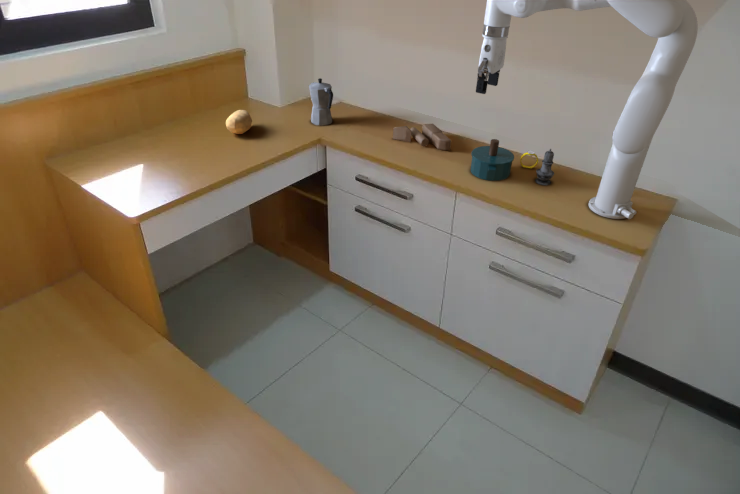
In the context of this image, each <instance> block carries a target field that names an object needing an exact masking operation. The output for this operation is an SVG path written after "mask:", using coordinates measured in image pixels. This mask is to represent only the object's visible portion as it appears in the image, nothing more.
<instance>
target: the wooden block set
mask: <svg viewBox="0 0 740 494" xmlns="http://www.w3.org/2000/svg"><path fill="white" fill-rule="evenodd" d="M412 138H414V140H415V141H417V143H419V145H420V146H421V147H426V146H428V145H429V143H430V144H433V146H435V147H436V148H437V149H438V150H442V151H450V150H451V146H452V140H451V139H450V138H449V137H448V136H447V135H446V134H444V132H443V131H442V130H441V129H440V128H439V127H437V125H436V124H434V123H425V124H422V127H421V131H420V130H418V128H416V127H414V126H412V127H411V128H410V127H408V126H407V125H403V126H394V127H393V128H392V140H395V141H402V142H407V143H411V139H412Z"/></svg>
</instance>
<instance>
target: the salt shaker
mask: <svg viewBox="0 0 740 494" xmlns="http://www.w3.org/2000/svg"><path fill="white" fill-rule="evenodd" d="M554 156H555V152H554V151H553V150H552V148H549V150H546V151H545V152H544V156H543V159H542V160H541V162H542V164H541V167H540V168H537V169H536V170H535V172H536V177H537V178H535V179H534V182H535V183H536V184H537V185H541V186H550V185H552V181H551V179H552V178H553V176H554V175H555V171H554V170H552V166H553V164H554Z"/></svg>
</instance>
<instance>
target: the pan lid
mask: <svg viewBox="0 0 740 494" xmlns="http://www.w3.org/2000/svg"><path fill="white" fill-rule="evenodd" d="M499 146H500V140H499V139H497V138H491V140H490V144H489V145H482V146H477V147H475V148H473V149H472V150H471V154H470V155H471V158H472V157H473V158H474V159H475V160H477V161H479V162H481V163H484V164H489V165H505V164H509V163H511V162H512V163H513V161H514V159H515V155H514V153H513V152H511V151H510V150H509V149H507V148H505V147H501V146H500V147H499Z"/></svg>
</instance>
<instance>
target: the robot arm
mask: <svg viewBox="0 0 740 494" xmlns="http://www.w3.org/2000/svg"><path fill="white" fill-rule="evenodd" d="M609 7H610V8H611V7H612V8H613V10H615V11H616V12H617V13H618V14H620V15H621V16H622V17H623V18H625V19H626V20H627V21H628V22H629V23H631V24H632V25H633V26H634V27H635V28H637V29H638V30H640V32H642V33H644V34H645V35H646V36H649V37H651V38H655V39H657V41H656V44H655V46H654V49H653V51H652V53H651V55H650V58H649V60H648V62H647V65H646V66H645V68H644V71H643V73H642V75H641V77H640V78H639V79H638V80H637V82H636V84H635V85H634V86H633V88H632V90H631V92H630V94H629V96H628V98H627V101H626V103H625V105H624V107H623V108H622V112H621V114H620V116H619V118H618V120H617V122H616V124H615V127H614V129H613V132H612V143H611V147H610V150H609V154H608V156H607V160H606V164H605V167H604V170H603V173H602V177H601V180H600V183H599V185H598V189H597V193H596V196H594V197H591V198H590V199H589V201H588V208H589V209H590V211H592V212H593V213H594V214H596V215H598V216H601V217H604V218H607V219H613V220H623V219H628V220H631V219H633V218H634V215H637V212H638V211H636V210H635V209H634V208H632V207H633V203H634V202H633V201H632V197H633V195H634V191H635V189H636V186H637V183H638V180H639V177H640V174H641V172H642V169H643V166H644V164H645V160H646V158H647V155H648V152H649V149H650V146H651V143H652V141H653V139H654V136H655V134H656V132H657V130H658V128H659V126H660V124H661V122H662V120H663V118H664V116H665V114H666V112H667V110H668V108H669V106H670V104H671V102H672V99H673V96H674V93H675V90H676V86H677V84H678V82H679V80H680V77H681V76H682V74H683V71H684V70H685V67H686V65H687V64H688V61H689V58H690V56H691V54H692V53H693V50H694V47H695V44H696V41H697V37H698V28H699V27H698V18H697V14H696V11H695V9H694V8H693V6H692V4H690V2H688V1H687V0H486V6H485V11H484V19H483V26H482V33H481V37H483V40H482V43H481V48H480V54H479V60H478V61H479V62H478V67H477V76H476V86H475V93H476V94H482V95H486V94H487V90H488V86H493V87H497V86H498V85H499V84H498V83H499V79H500V73H501V70H502V69H503V68H504V65H505V58H506V51H507V39H508V38H509V34H510V33H509V32H510V27H511V21H512V17H515V18H521V19H525V18H529V17H531V16H532V15H534V14H536V13H540V12H546V11H551V10H552V11H553V10H559V9H570V10H573V11H575V12H578V11H579V12H582V11H588V10H594V9H601V8H602V9H603V8H609Z"/></svg>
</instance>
